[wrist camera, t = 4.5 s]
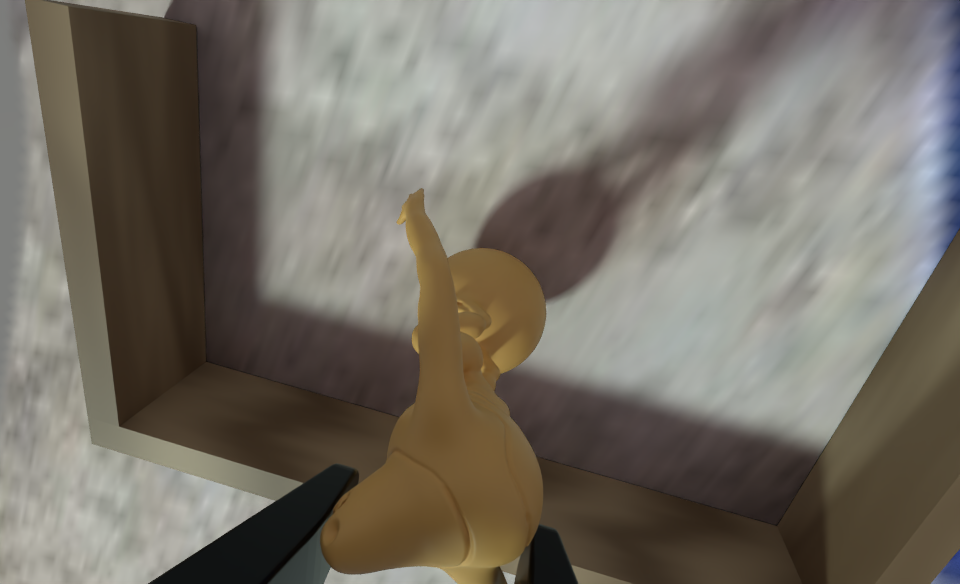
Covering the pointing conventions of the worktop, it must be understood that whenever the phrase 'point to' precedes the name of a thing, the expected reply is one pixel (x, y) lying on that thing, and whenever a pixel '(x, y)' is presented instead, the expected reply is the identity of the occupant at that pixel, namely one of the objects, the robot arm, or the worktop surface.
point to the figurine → (452, 427)
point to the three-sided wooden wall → (366, 433)
